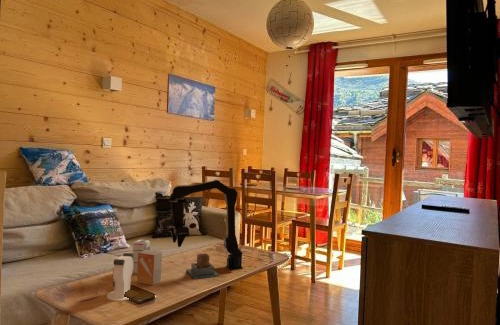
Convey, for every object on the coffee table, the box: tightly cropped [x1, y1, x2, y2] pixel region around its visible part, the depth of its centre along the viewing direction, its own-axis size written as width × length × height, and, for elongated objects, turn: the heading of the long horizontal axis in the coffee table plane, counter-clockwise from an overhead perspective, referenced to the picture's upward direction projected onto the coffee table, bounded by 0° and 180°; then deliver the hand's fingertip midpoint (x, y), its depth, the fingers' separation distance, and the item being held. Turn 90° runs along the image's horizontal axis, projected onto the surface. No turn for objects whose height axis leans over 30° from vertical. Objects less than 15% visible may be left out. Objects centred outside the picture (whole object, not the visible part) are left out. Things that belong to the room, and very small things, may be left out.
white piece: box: [106, 252, 134, 302], centre depth 141 cm, size 12×11×15 cm
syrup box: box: [132, 239, 151, 274], centre depth 169 cm, size 6×6×14 cm
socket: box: [186, 262, 220, 280], centre depth 170 cm, size 12×12×4 cm
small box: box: [136, 249, 163, 286], centre depth 156 cm, size 8×6×13 cm
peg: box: [196, 252, 210, 268], centre depth 170 cm, size 4×4×8 cm
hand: (176, 244), depth 174 cm, fingers open, 9 cm apart
